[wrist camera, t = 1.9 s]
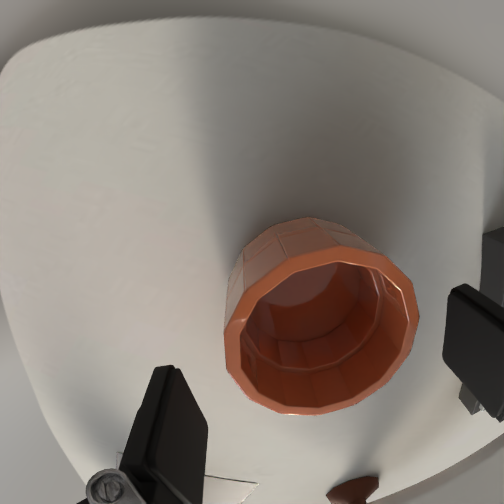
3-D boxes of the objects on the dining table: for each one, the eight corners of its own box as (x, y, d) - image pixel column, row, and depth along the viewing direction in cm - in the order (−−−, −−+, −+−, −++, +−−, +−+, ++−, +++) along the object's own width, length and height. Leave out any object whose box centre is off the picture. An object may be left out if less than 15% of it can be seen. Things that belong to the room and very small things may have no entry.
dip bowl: (210, 236, 13) (194, 280, 8) (360, 201, 13) (418, 224, 8) (247, 358, 15) (250, 430, 10) (373, 325, 15) (414, 383, 10)
